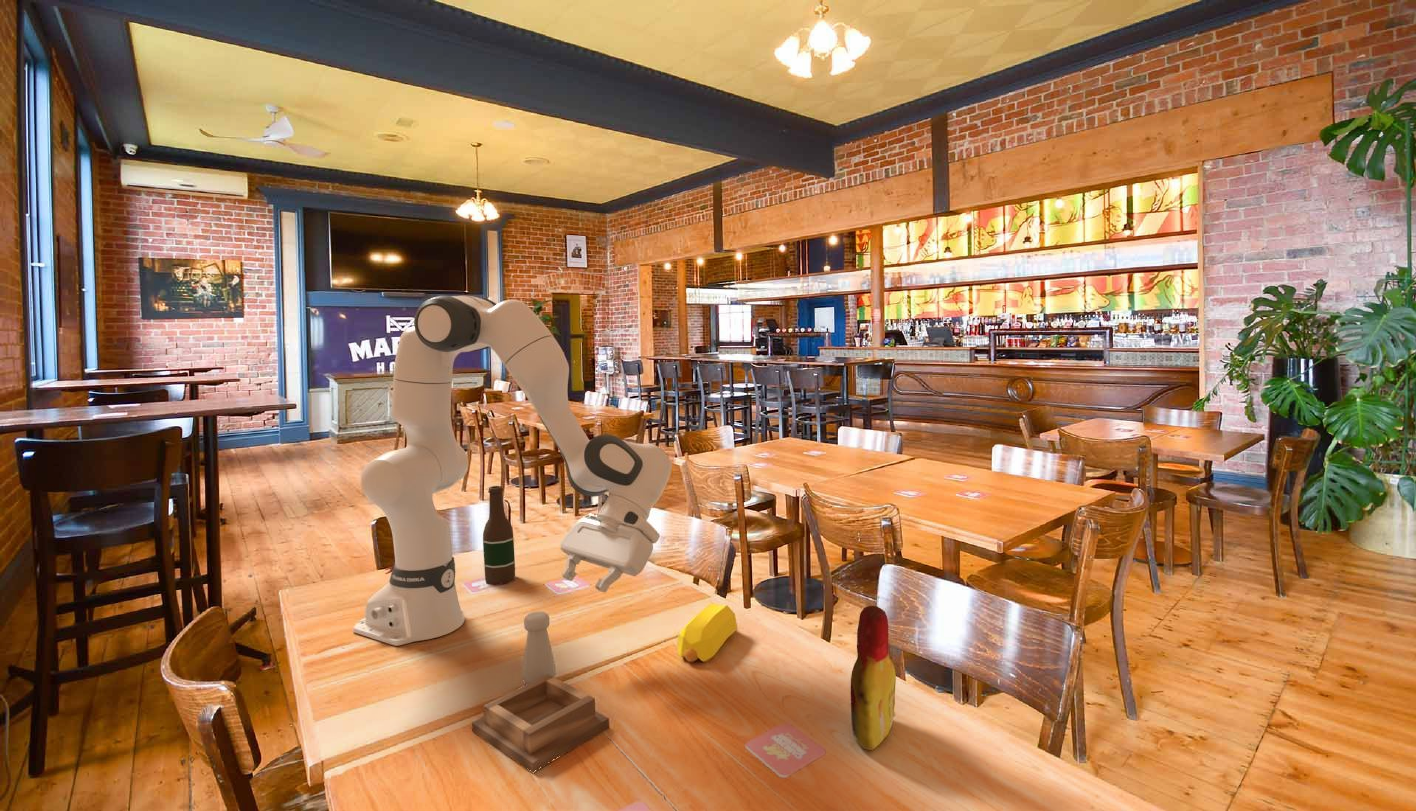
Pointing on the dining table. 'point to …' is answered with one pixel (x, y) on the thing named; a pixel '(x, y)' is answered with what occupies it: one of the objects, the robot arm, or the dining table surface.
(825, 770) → the dining table surface
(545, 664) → the salt shaker
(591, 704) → the board
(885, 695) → the bottle
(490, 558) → the beer bottle
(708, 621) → the yellow faceted rounded part
